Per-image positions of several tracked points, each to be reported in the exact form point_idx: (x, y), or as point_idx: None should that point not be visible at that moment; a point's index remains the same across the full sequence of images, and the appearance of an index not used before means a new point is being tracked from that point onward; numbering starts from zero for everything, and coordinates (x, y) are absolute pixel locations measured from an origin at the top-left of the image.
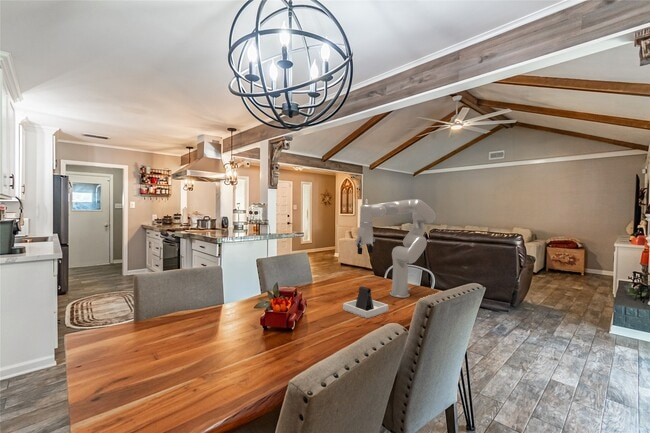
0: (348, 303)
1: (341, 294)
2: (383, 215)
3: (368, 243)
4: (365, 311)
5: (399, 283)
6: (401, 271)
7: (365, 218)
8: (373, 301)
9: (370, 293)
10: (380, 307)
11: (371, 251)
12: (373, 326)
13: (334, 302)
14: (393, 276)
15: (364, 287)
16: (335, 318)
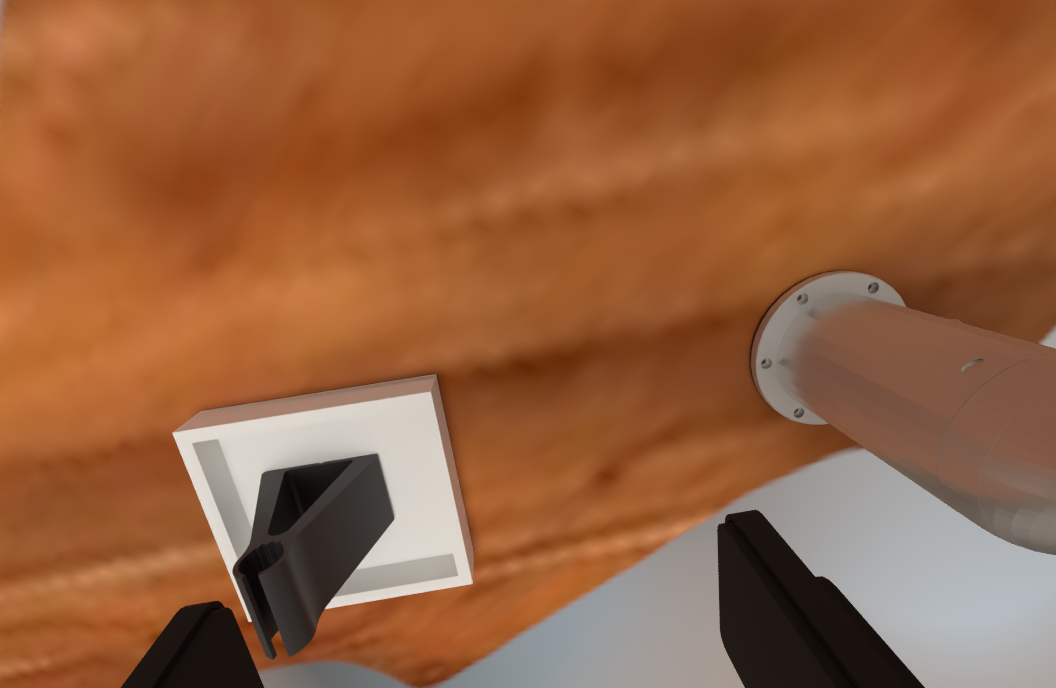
0: (227, 434)
1: (396, 73)
2: None
3: None
4: (245, 611)
5: (849, 433)
6: (967, 516)
7: None
8: (437, 481)
9: (316, 616)
10: (387, 597)
11: (742, 669)
12: None
13: (213, 246)
14: (897, 390)
15: (271, 604)
16: (76, 511)
